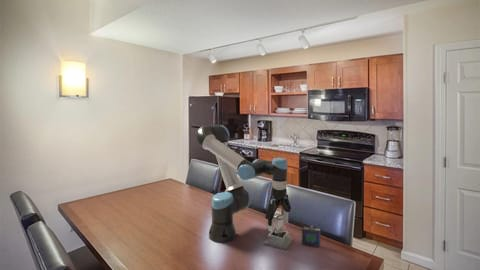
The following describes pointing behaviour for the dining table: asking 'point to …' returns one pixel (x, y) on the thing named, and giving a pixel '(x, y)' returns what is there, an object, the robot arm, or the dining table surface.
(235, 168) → the robot arm
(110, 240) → the dining table surface
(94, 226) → the dining table surface
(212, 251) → the dining table surface
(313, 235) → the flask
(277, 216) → the silver canister
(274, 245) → the duct collar
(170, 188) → the dining table surface
